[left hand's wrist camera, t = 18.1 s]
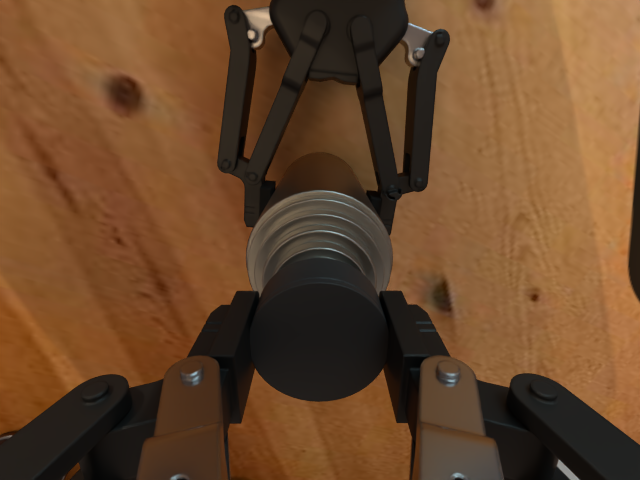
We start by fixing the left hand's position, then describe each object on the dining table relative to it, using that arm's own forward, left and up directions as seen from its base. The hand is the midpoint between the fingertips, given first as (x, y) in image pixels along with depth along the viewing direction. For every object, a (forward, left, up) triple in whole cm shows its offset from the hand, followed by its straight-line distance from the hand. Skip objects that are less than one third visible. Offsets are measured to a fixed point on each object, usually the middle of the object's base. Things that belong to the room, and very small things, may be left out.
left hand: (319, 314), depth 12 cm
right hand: (-5, -1, -14) cm, 15 cm away
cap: (0, 0, +2) cm, 2 cm away
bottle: (0, 0, -20) cm, 20 cm away
